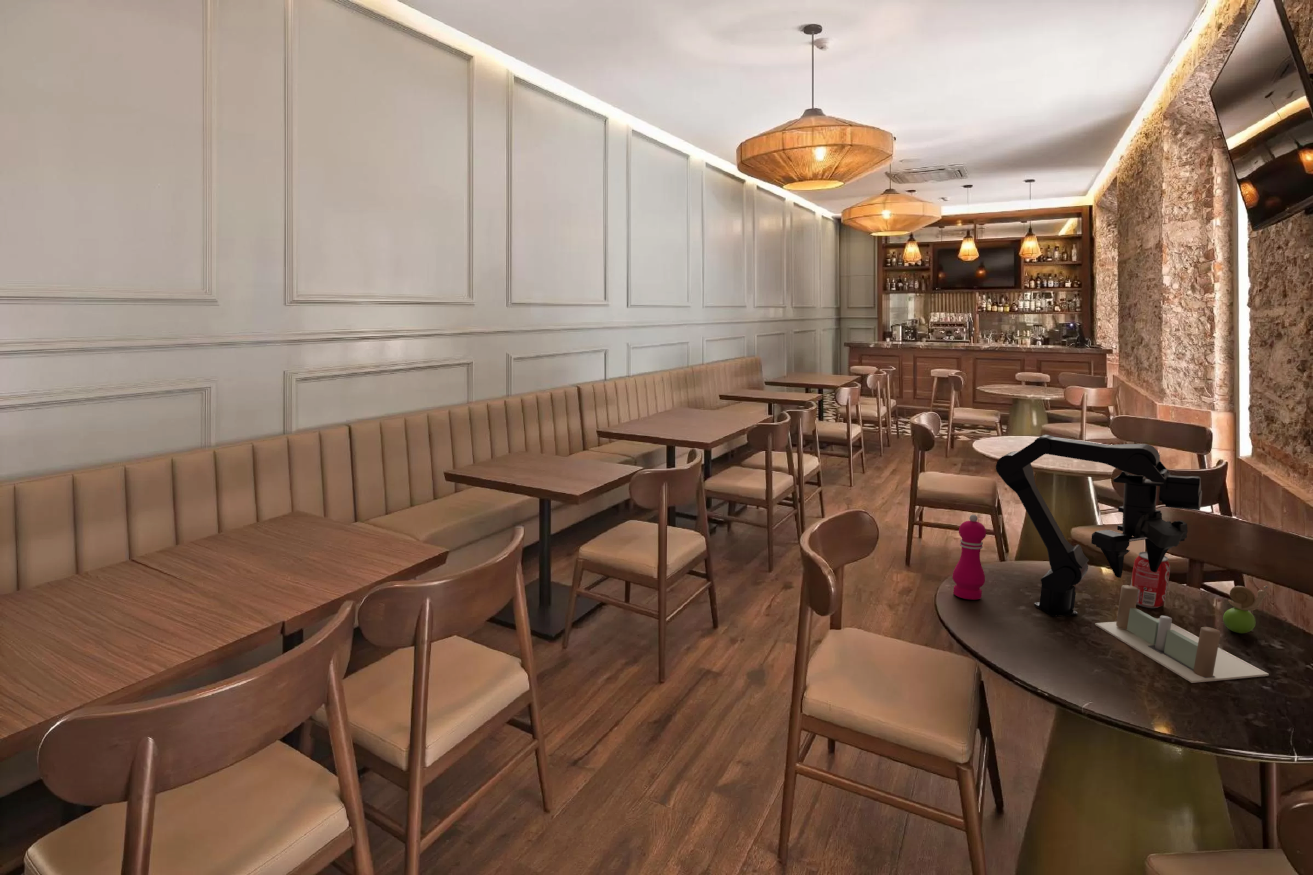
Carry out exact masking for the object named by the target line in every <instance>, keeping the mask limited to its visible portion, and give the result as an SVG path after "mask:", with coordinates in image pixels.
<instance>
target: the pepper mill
mask: <svg viewBox="0 0 1313 875" xmlns="http://www.w3.org/2000/svg"><path fill="white" fill-rule="evenodd" d="M978 518H979V517H978V516H977V515H976V514H971V515H970V516H969V520H966V521H964V522H962V523H960V526H959V528H958V534H959V536H960V537H961V539H960V541H959V542H960V544H959V545H960V547H961V553H960V557H959V560H958V561H957V563H956V565H955V567H954V569H953V571H952V575H951V576H952V580H953V582H954V583H955V585H954V586H953V592H952V593H953V595H955V596H956V597H958V598H959V599H960V598H961V599H964V600H974V601H976V600H980V599H981V598H982V594H983V593H982V592H983V590H982V589H981V587H982V586H984V585H985V582H986V575H985V571H984V569H983V565H982V562H981V549H983V545H984V543H983V540H984V539H985V538H986V537H987V536H986V535H987V529H986V527H985V525H984V524H983V523H981V522H979V521H978Z"/></svg>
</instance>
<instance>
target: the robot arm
mask: <svg viewBox="0 0 1313 875" xmlns="http://www.w3.org/2000/svg"><path fill="white" fill-rule="evenodd" d="M1044 455H1050V456H1057V457H1061V458H1067V459H1075V460H1080V461H1087V462H1094V463H1100V464H1104V465H1107V466H1110V467H1112V468H1115V469H1117V470H1118V471H1119V470H1120V471H1121V472H1120V474H1119V475H1117V476H1115V477H1114V478H1113V480H1112V481H1113V482H1114V483H1115V484H1116V483H1117V484H1118V483H1120V484H1123V502H1122V503H1123V504H1122V506H1118V508H1117V509H1118V511H1117V512H1118V513H1122V524H1118V525H1117V526H1116V528H1117V531H1114V530H1111V529H1104V530H1103V529H1102V530H1095V531H1094V532H1093V533H1092V534H1091V540H1090V541H1091V542H1090V543H1091V545H1095V546H1096V548H1099V549H1100V550H1101V552H1102V554H1104V556H1105V558H1106V560H1107V562H1108V564H1109V566H1110V568H1111V570H1112V572H1113V574H1114V576H1115V578H1118V579H1121V578H1122V575H1123V570H1124V562H1125V556H1126V555H1127V554H1128V553H1129V552H1130V551H1131V550H1130V549H1128V548H1129V546H1130V543H1131V542H1136V541H1143V540H1144V541H1145V547H1146V552H1147V555H1148V561H1149V566H1150V570H1151V571H1152V572H1157V570H1158V568H1159V566H1160V564H1161V562H1162V560H1163V558H1164V556H1166V555H1167V552H1168V551H1169V550H1170V549H1171V548H1173V547H1174V548H1175V547H1178V546H1179V544H1180V542H1184V541H1185V539H1187V538H1188V523H1187V522H1185V521H1184V520H1181V519H1180V520H1175V521H1169V520H1167V521H1166V520H1164V519H1163V517H1162V516H1163V512H1162V511H1161V509H1157V488H1158V487H1159V495H1158V499H1159V500H1158V501H1159V502H1161V504H1162V505H1165V508H1171V509H1182V510H1191V511H1201V506H1202V498H1203V490H1202V483H1201V480H1202V478H1201V476H1197V475H1190V476H1186V475H1185V476H1183V475H1171V472H1170V471H1169V470H1168V469H1167V467H1166V466H1165V465H1164V464H1163V463H1162V461H1161V455H1160V453H1159V451H1158V450H1157V448H1156V447H1154V446H1153V445H1151V444H1147V443H1125V444H1123V443H1121V444H1104V443H1099V442H1092V441H1091V442H1090V441H1085V440H1077V439H1071V438H1065V437H1056V436H1052V435H1049V434H1044V435H1041V436H1039V437H1037V438H1036V439H1034V441H1033V442H1031V443H1030V444H1029V445H1026V446H1025V447H1023V448H1021V449H1020V450H1016V451H1010V452H1008V453H1007V454H1005V455H1002V456H1001V457H999V458H998V460H997V461H996V465H995V471H996V473H997V475H998V476H999V478H1001V480H1002V481H1003V482H1004V484H1005V485H1006V486H1008V487H1009V488H1010V489H1011V490H1012V491H1013V492H1014V493H1015V494H1016V495H1017V497H1018V498H1019V500H1020V502H1021V504H1022V506H1023V508H1024V509H1025V511H1026V513H1027V515H1028V516H1029V519H1030V520H1031V522H1032V524H1033V526H1034V528H1035V529H1036V531H1037V533H1038V534H1039V537H1040V538H1041V540H1042V542H1043V544H1044V546H1045V548H1046V549H1047V551H1046V552H1047V556H1048V561H1049V567H1050V569H1048V571H1047V572H1046V573H1045V574H1044V575H1043V576H1042V577H1041V578H1040V582H1041V586H1040V587H1041V588H1040V596H1039V602H1038V601H1037V602H1034V604H1033V605H1034V606H1035V607H1037V608H1038V609H1040V610H1042V611H1043V612H1045V613H1046V614H1048V615H1049V616H1051V617H1064V616H1067V617H1068V616H1076V615H1078V611H1076V610H1074V609H1075V603H1076V595H1077V592H1076V585H1078V584H1079V583H1080V582H1081V581H1083V580H1082V579H1083V578H1084V577H1085V576H1086V575H1087V573H1088V570H1089V564H1088V562H1089V560H1090V559H1089V558H1088V557H1086V555H1085V554H1084V552H1083V548H1082V546H1081V544H1076V545H1074V546H1073V544H1071V542H1069V541H1068V540H1067V539H1066V537H1065V535H1064V534H1063V532H1062V530H1061V528H1060V526H1059V524H1058V523H1057V521H1056V519H1055V518H1054V516H1053V513H1052V512H1051V510H1050V508H1049V506H1048V505H1047V502H1046V501H1045V500H1044V498H1043V496H1042V494H1041V492H1040V491H1039V490H1040V489H1038V487H1037V485H1036V479H1035V474H1034V469H1033V466H1032V463H1033V462H1035V461H1036V460H1038V459H1039V458H1041V457H1042V456H1044ZM1118 531H1120V532H1118Z"/></svg>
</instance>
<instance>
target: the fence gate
mask: <svg viewBox="0 0 1313 875" xmlns="http://www.w3.org/2000/svg"><path fill="white" fill-rule="evenodd" d="M1137 595H1138V588H1136V587H1134V586H1131V584H1130V585H1128V584H1124V585H1121V588H1120V595H1119V601H1118V609H1117V615H1116V621H1115V622H1116V626H1118V627H1119V628H1122V629H1127V630H1129V631H1130V632H1132V633H1134V634H1136V635H1137V636H1139V637H1141V638H1143V639H1144V640H1146V641H1148V642H1150V643H1151V644H1153V645H1156V639H1157V633H1158V626H1159V620H1157V618H1156V617H1153V616H1151V615H1150V614H1148V613H1146V612H1144V611H1142V610H1140V609H1138V608H1137V607H1136V606H1137V604H1136V601H1137Z"/></svg>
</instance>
